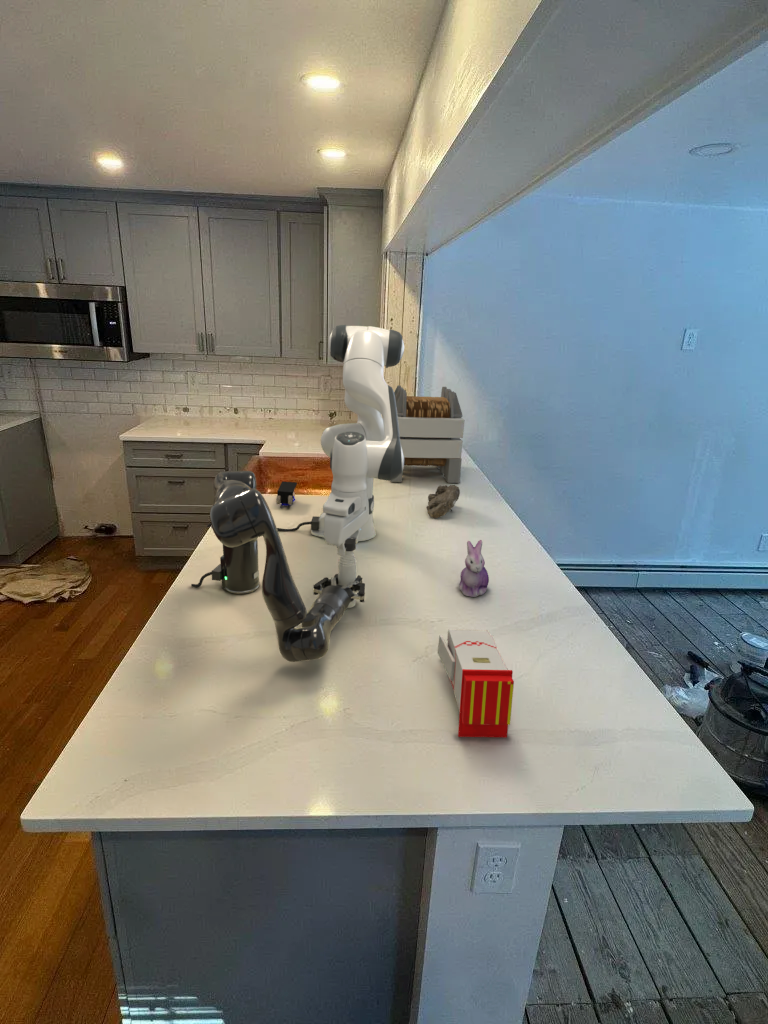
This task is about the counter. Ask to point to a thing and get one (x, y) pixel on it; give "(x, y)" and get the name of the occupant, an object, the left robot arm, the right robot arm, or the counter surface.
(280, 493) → the figurine character
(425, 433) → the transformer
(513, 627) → the counter surface
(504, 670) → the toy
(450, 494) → the fossil
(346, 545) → the cap
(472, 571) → the figurine
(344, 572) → the bottle
